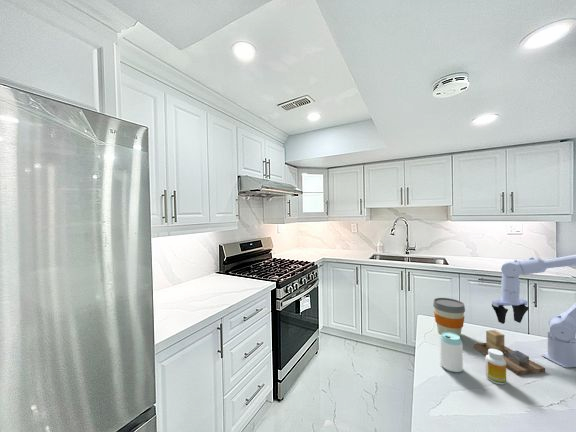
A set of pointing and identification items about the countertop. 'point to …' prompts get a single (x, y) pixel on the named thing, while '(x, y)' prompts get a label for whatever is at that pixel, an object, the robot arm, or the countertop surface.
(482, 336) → the countertop surface
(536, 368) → the brown wooden frame
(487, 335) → the oak peg
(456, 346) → the can
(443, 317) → the reusable coffee cup
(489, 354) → the supplement bottle
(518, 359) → the gray cube
